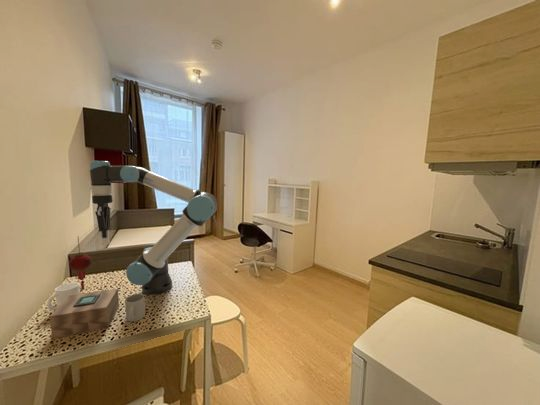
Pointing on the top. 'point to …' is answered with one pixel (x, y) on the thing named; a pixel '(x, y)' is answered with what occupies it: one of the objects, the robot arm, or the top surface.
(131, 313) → the cup
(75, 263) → the lantern
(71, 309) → the socket block
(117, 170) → the robot arm
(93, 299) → the peg
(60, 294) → the mug
